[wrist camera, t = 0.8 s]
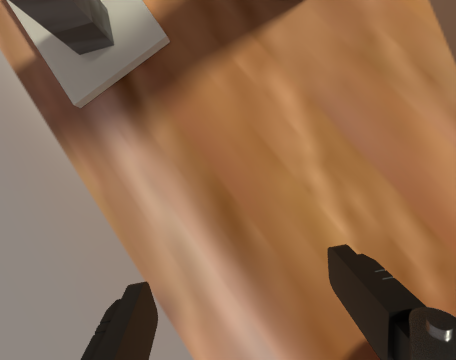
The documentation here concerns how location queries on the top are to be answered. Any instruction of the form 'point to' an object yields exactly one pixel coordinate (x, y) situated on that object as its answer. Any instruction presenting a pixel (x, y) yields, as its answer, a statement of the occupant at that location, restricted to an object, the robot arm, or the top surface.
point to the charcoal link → (72, 22)
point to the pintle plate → (103, 58)
